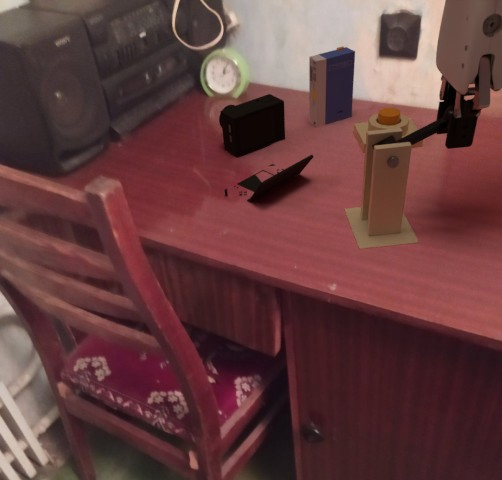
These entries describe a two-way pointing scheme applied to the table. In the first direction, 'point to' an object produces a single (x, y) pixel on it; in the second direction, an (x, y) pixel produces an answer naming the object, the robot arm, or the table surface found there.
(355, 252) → the table surface
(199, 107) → the table surface
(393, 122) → the button
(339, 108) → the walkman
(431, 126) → the switch lever
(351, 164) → the table surface
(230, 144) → the digital camera
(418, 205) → the table surface
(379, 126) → the button block
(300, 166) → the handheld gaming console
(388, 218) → the switch bracket
